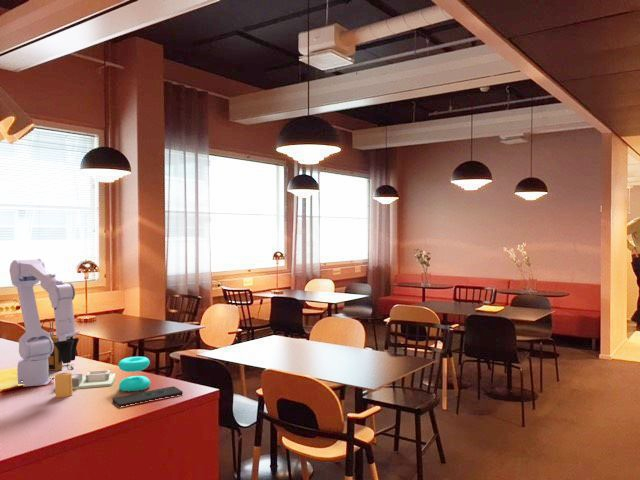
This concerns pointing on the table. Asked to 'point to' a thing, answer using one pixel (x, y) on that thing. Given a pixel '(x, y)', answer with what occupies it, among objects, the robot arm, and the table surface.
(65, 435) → the table surface
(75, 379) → the grey dome button
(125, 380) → the donuts
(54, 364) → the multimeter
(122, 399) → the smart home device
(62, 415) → the table surface
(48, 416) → the table surface
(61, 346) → the robot arm
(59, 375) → the plug
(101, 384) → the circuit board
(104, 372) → the frame
